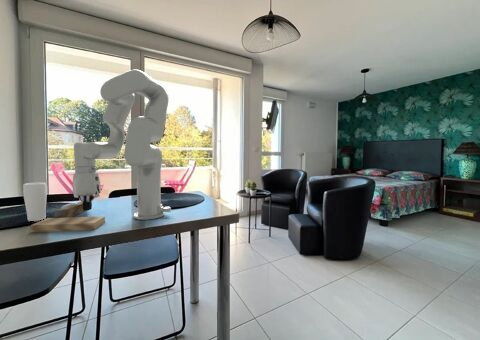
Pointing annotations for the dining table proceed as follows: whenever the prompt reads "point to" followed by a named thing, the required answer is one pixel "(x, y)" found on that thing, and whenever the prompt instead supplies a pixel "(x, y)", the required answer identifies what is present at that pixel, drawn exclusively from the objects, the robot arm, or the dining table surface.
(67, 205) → the stop block
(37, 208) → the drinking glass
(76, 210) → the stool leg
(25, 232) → the dining table surface
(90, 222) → the board
